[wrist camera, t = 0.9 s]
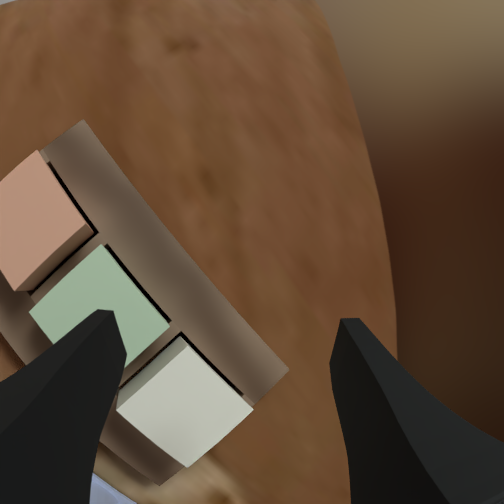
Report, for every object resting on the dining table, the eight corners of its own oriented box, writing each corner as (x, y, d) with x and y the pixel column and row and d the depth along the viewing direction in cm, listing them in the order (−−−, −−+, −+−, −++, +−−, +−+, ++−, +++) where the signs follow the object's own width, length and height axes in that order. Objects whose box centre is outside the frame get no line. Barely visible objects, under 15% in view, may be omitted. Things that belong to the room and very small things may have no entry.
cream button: (179, 443, 19) (187, 467, 16) (118, 390, 18) (116, 410, 15) (236, 392, 21) (253, 409, 18) (180, 335, 20) (187, 345, 17)
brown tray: (156, 472, 20) (159, 485, 18) (-39, 245, 16) (-51, 242, 14) (278, 363, 24) (289, 369, 22) (86, 130, 20) (83, 118, 19)
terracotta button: (33, 290, 17) (14, 291, 14) (-9, 223, 16) (-30, 212, 13) (94, 233, 19) (85, 223, 16) (50, 168, 18) (36, 149, 15)
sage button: (103, 375, 18) (97, 392, 15) (45, 307, 17) (28, 312, 14) (165, 319, 20) (170, 326, 17) (107, 250, 19) (101, 244, 16)
